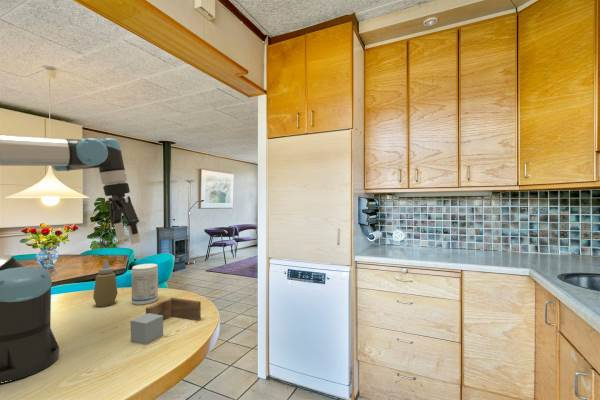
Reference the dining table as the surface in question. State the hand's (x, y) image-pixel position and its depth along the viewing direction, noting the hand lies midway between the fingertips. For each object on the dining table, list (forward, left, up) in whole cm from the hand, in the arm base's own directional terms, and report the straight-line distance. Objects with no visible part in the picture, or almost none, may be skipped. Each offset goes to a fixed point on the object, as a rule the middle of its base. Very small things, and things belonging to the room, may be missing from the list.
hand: (128, 241), depth 101 cm
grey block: (-11, -21, -27) cm, 36 cm away
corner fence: (+1, -20, -27) cm, 34 cm away
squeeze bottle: (+5, +20, -27) cm, 34 cm away
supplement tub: (+13, +8, -27) cm, 31 cm away
